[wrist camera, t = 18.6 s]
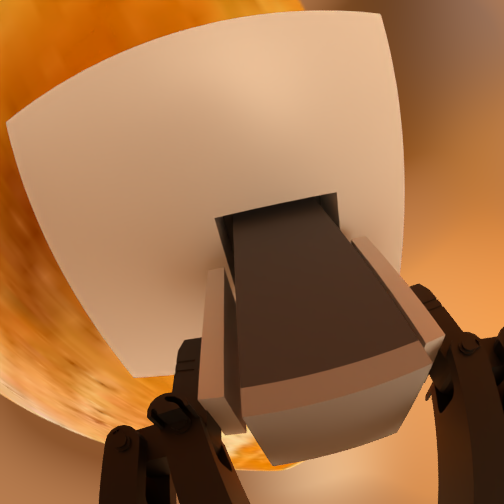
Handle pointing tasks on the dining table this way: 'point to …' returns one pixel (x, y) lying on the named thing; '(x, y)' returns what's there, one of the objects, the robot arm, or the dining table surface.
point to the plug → (317, 337)
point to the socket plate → (208, 162)
